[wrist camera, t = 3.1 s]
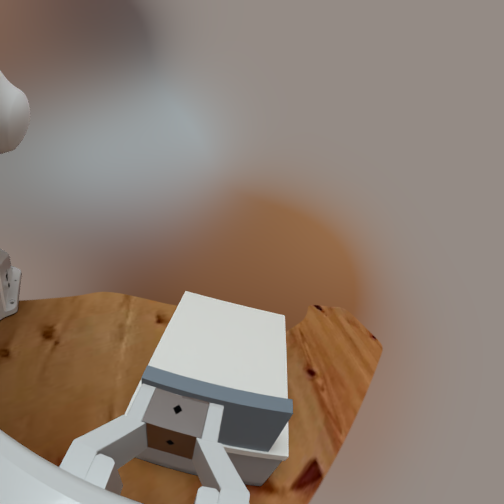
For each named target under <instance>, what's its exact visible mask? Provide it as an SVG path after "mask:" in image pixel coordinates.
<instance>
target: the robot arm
mask: <svg viewBox="0 0 504 504" xmlns="http://www.w3.org/2000/svg"><path fill="white" fill-rule="evenodd" d="M29 122H30V106H29V102H28V99H27V97H26V95H25V94H24V92H23V91H21V90H19V89H18V88H16V87H15V86H14V85H12V84H11V83H10V82H9V81H8V80H7V79H6V78H5V76H4V75H3V74H2V72H1V71H0V154H3V153H6V152H9V151H13V150H14V149H16V147H17V146H18V145H19V144H20V143H21V141H22V140H23V138H24V136H25V134H26V132H27V129H28V126H29ZM21 275H22V274H21V270H20V269H18V268H16V267H13V266H11V262H10V256H9V254H8V253H7V252H5V251H4V250H2V249H0V320H1V319H2V318H4V317H6V316H9V315H11V314H14V313H16V312H17V310H18V302H19V292H20V283H21ZM223 410H224V406H223V405H218V404H214V403H209V402H207V401H202V400H198V399H194V398H190V397H186V396H181V395H178V394H174V393H171V392H168V391H165V390H162V389H159V388H156V387H153V386H150V385H147V384H144V383H143V384H142V385H141V387H140V389H139V391H138V393H137V395H136V397H135V399H134V401H133V403H132V406H131V408H130V410H129V412H128V414H127V416H125V415H122V416H120V417H118V418H116V419H114V420H112V421H110V422H108V423H106V424H105V425H103V426H101V427H99V428H97V429H95V430H93V431H91V432H89V433H87V434H85V435H83V436H81V437H79V438H77V439H75V440H73V442H72V444H71V446H70V448H69V450H68V451H67V453H66V455H65V457H64V459H63V461H62V463H61V465H60V467H58V466H56V465H54V464H52V463H51V462H49V461H47V460H45V459H44V458H42V457H40V456H39V455H37V454H35V453H34V452H32V451H31V450H29V449H28V448H26V447H25V446H23V445H22V444H20V443H19V442H17V441H16V440H14V439H13V438H11V437H10V436H9V435H7V434H6V433H4V432H3V431H2V430H0V504H143V503H140V502H137V501H134V500H131V499H128V498H126V497H123V496H120V493H121V490H122V487H123V484H122V481H121V478H120V476H119V473H118V470H117V469H119V468H120V467H122V466H123V465H124V464H126V463H127V462H129V461H130V460H132V459H133V458H134V457H136V456H137V455H139V454H140V453H141V452H143V451H144V450H145V449H147V447H150V448H153V449H156V450H160V451H163V452H167V453H171V454H174V455H177V456H181V457H184V458H188V459H191V460H192V462H193V465H194V467H195V469H196V472H197V474H198V477H199V479H200V482H201V484H202V487H200V488H199V489H198V492H197V495H196V498H195V501H194V504H249V497H250V493H249V491H248V490H247V488H246V486H245V485H244V483H243V481H242V480H241V478H240V476H239V474H238V473H237V471H236V469H235V467H234V465H233V464H232V462H231V460H230V458H229V456H228V455H227V453H226V451H225V449H224V447H223V445H222V443H218V437H219V432H220V426H221V421H222V415H223ZM207 411H208V412H207Z"/></svg>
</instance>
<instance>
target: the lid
mask: <svg viewBox="0 0 504 504" xmlns="http://www.w3.org/2000/svg"><path fill="white" fill-rule="evenodd" d="M143 383H144V384H147V385H150V386H153V387H156V388H159V389H162V390H165V391H168V392H171V393H174V394H178V395H181V396H186V397H190V398H194V399H198V400H202V401H207V402H209V403H214V404H218V405H223V406H224V410H223V415H222V421H221V426H220V432H219V437H218V443H222V445H223V447H224V449H225V451H226V452H229V453H234V454H240V455H246V456H252V457H259V458H266V459H274V460H284V461H285V460H286V459H287V458H288V421H289V419H290V417H291V416H292V414H293V403H292V399H288V393H287V359H286V333H285V315H280V314H276V313H271V312H267V311H263V310H258V309H254V308H250V307H245V306H242V305H238V304H233V303H230V302H225V301H222V300H218V299H214V298H210V297H206V296H202V295H198V294H194V293H191V292H187V291H185V293H184V295H183V297H182V299H181V301H180V303H179V305H178V307H177V309H176V311H175V313H174V314H173V316H172V318H171V320H170V322H169V324H168V326H167V328H166V330H165V332H164V334H163V336H162V338H161V340H160V342H159V344H158V346H157V348H156V350H155V352H154V354H153V356H152V358H151V360H150V362H149V364H148V365H147V367H146V369H145V371H144V373H143V376H142V378H141V381H140V383H139V385H138V387H137V389H136V391H135V393H134V395H133V397H132V399H131V402H130V404H129V406H128V408H127V410H126V412H125V414H124V415H125V416H127V414H128V412H129V410H130V408H131V406H132V403H133V401H134V399H135V397H136V395H137V393H138V391H139V389H140V387H141V385H142V384H143ZM207 412H208V411H207Z"/></svg>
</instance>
